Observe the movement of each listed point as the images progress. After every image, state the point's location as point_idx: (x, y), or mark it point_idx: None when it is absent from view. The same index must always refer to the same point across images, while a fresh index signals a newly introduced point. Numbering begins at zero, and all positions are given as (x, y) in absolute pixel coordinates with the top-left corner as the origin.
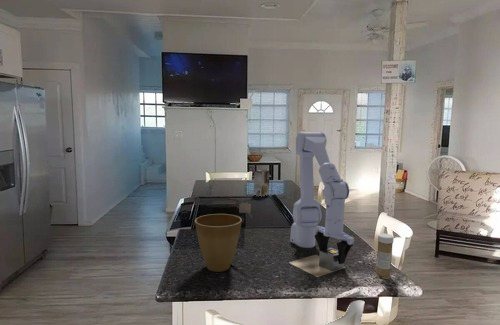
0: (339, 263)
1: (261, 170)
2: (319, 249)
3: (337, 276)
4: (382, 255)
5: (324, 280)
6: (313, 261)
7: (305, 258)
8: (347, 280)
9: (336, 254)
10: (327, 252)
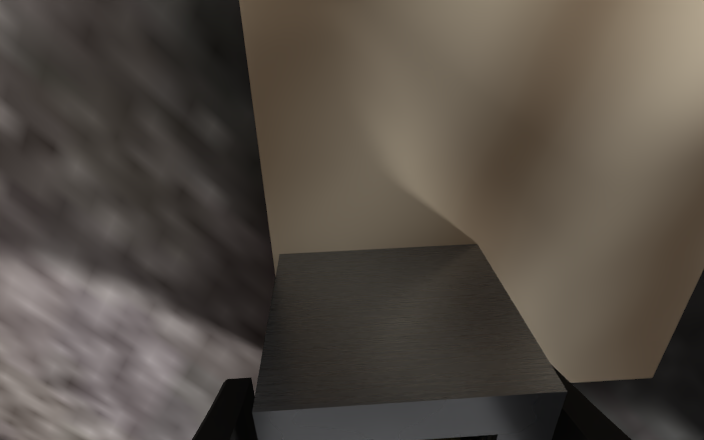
0: (235, 381)
1: None
2: (613, 424)
3: (225, 251)
4: None
5: (201, 55)
6: (582, 264)
7: (695, 246)
8: (110, 267)
9: None
10: (429, 437)
